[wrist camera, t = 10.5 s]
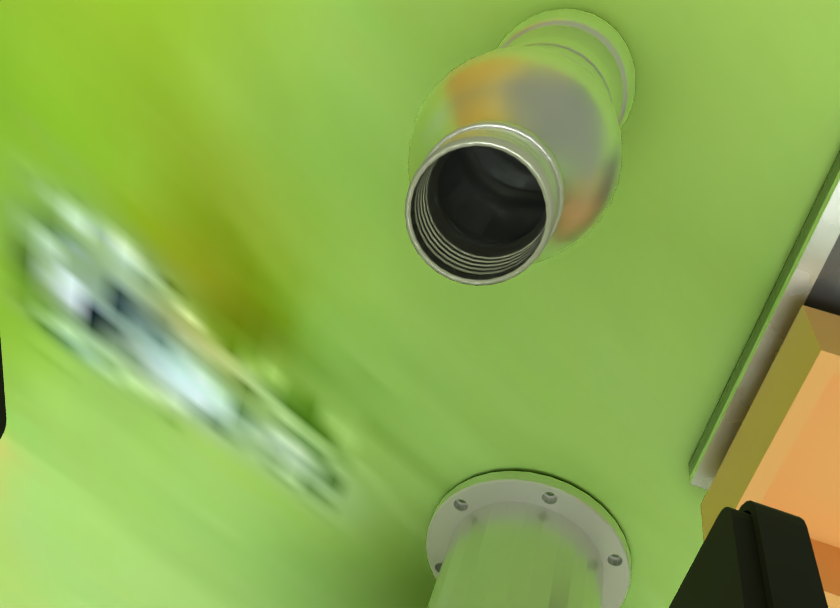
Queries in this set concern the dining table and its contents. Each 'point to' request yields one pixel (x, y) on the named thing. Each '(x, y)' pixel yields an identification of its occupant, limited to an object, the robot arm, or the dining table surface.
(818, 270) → the grey flat slab
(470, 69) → the plastic bottle
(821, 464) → the orange open tray
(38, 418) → the dining table surface
